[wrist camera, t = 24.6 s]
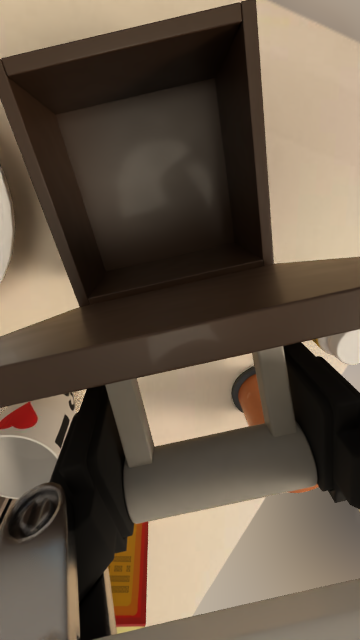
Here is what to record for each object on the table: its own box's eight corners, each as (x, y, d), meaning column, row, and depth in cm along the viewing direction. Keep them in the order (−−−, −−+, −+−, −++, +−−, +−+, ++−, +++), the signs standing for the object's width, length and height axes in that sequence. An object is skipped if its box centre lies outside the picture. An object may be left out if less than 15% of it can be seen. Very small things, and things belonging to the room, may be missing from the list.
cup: (99, 386, 34) (78, 456, 25) (69, 430, 37) (41, 509, 28) (33, 356, 32) (-16, 421, 23) (7, 406, 34) (-47, 482, 25)
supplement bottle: (295, 288, 31) (341, 319, 23) (336, 290, 31) (394, 320, 24) (286, 328, 33) (326, 368, 25) (325, 329, 33) (375, 369, 26)
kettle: (232, 363, 34) (265, 434, 24) (285, 351, 34) (340, 418, 23) (243, 431, 38) (274, 515, 28) (289, 421, 38) (337, 502, 28)
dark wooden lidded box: (45, 108, 23) (-15, 61, 15) (220, 67, 23) (256, -3, 15) (101, 278, 29) (80, 310, 21) (241, 247, 29) (274, 267, 21)
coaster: (288, 358, 35) (290, 361, 34) (291, 406, 38) (292, 409, 37) (227, 372, 35) (229, 375, 34) (235, 418, 38) (236, 421, 37)
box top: (-199, 410, 5) (-86, 641, 6) (584, 237, 5) (577, 504, 6) (77, 307, 20) (98, 379, 21) (275, 263, 20) (287, 338, 21)
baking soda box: (142, 516, 45) (135, 672, 30) (99, 515, 44) (71, 675, 29) (149, 474, 41) (145, 629, 26) (103, 472, 40) (73, 631, 26)
